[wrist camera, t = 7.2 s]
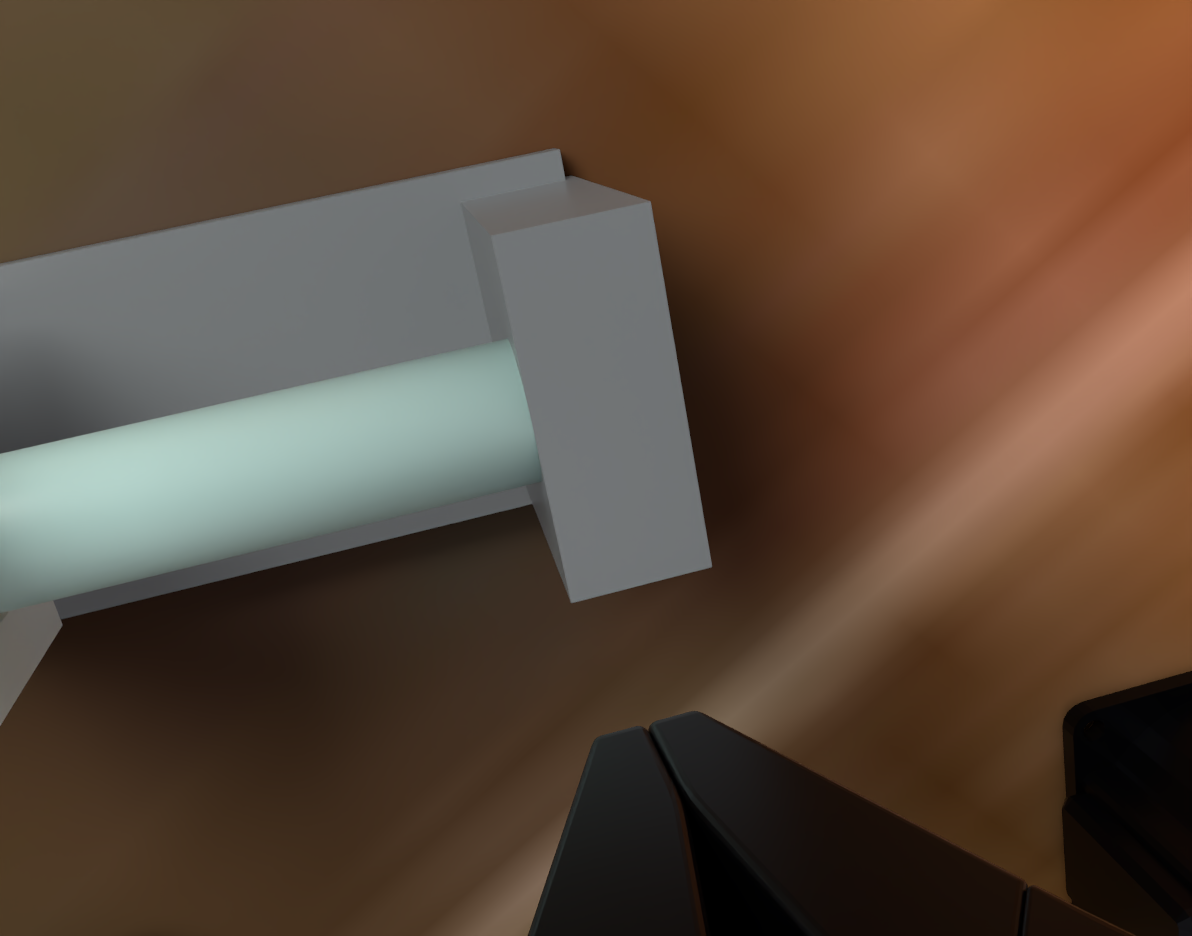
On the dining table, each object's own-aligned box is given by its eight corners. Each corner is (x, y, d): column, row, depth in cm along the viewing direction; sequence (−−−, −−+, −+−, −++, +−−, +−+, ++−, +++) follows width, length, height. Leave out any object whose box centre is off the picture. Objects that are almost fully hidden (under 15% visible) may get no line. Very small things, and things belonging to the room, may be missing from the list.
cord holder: (565, 145, 19) (656, 162, 13) (627, 469, 21) (732, 620, 15) (-630, 395, 17) (-1227, 560, 11) (-435, 728, 19) (-839, 1033, 13)
